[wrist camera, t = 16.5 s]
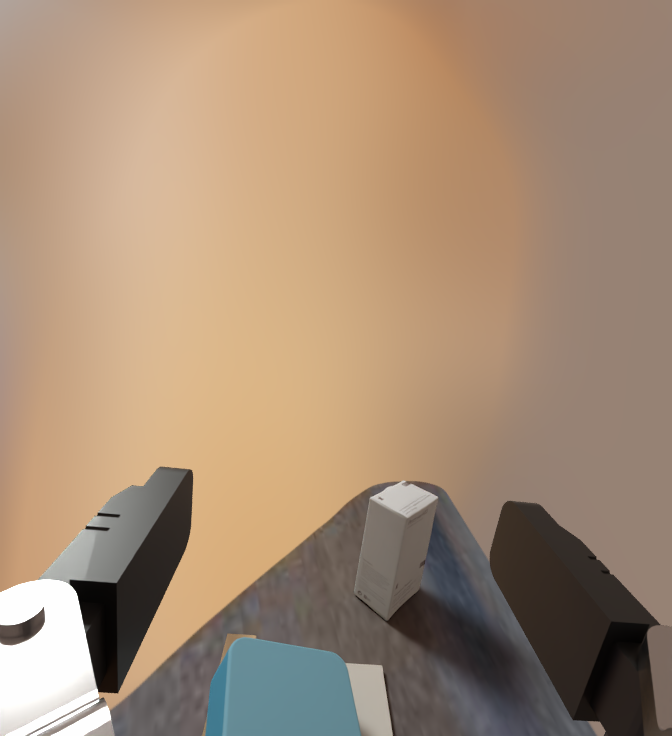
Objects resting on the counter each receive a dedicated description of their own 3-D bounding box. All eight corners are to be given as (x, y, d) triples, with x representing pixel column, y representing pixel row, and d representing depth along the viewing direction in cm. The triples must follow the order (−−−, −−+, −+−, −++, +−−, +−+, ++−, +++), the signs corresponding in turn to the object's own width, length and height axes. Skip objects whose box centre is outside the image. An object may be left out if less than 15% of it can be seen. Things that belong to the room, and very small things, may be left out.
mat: (381, 669, 43) (381, 665, 43) (398, 787, 33) (400, 782, 33) (253, 661, 42) (254, 657, 42) (233, 780, 32) (234, 775, 32)
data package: (351, 860, 29) (325, 684, 40) (380, 822, 28) (345, 653, 39) (190, 862, 25) (211, 667, 36) (217, 818, 24) (230, 632, 35)
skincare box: (387, 623, 49) (408, 521, 45) (350, 593, 53) (367, 496, 49) (420, 588, 55) (442, 496, 51) (386, 563, 59) (403, 476, 55)
